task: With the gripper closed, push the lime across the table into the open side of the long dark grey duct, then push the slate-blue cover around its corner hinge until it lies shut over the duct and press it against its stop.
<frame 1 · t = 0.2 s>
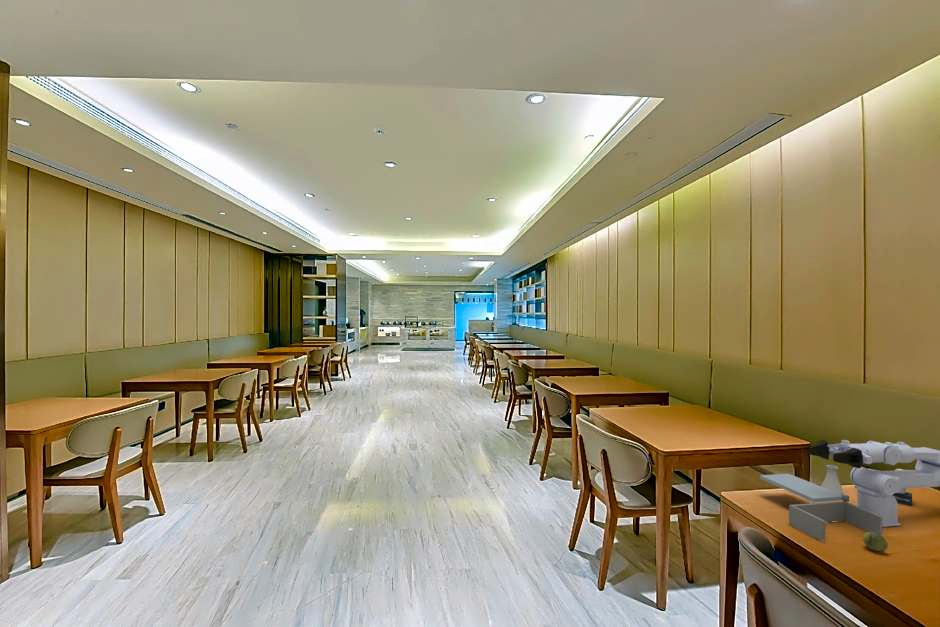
hand: (821, 454, 135), 22 cm above the table, tool horizontal, fingers open, 7 cm apart
watch: (900, 502, 154), on the table
duct cover: (802, 487, 148), point 7 cm above the table, hinge at 90.0°
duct: (835, 531, 132), on the table
flask: (831, 495, 160), on the table
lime: (875, 551, 121), on the table
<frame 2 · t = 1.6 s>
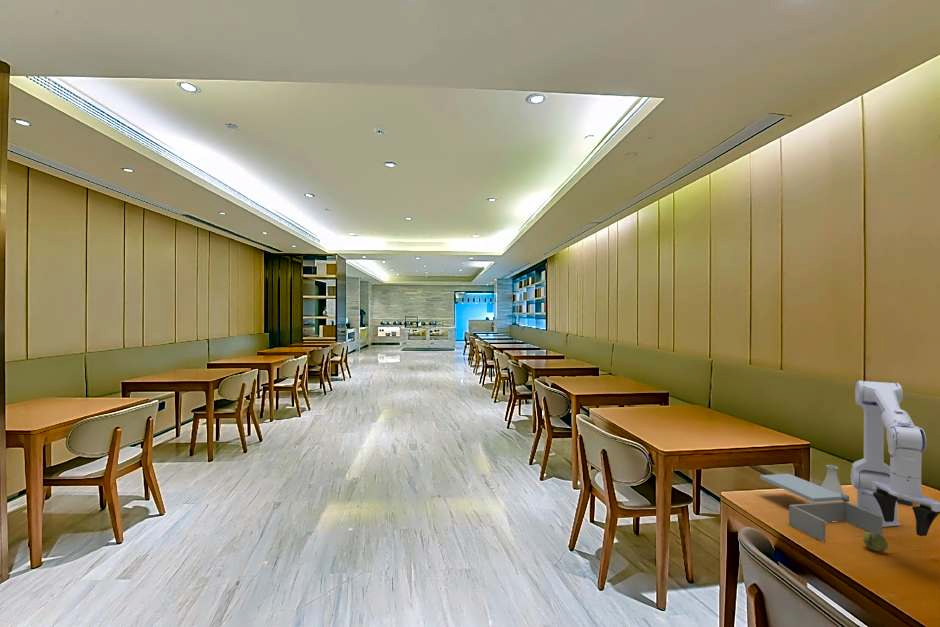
hand: (904, 528, 114), 9 cm above the table, tool pointing down, fingers open, 7 cm apart
nothing on the table moved.
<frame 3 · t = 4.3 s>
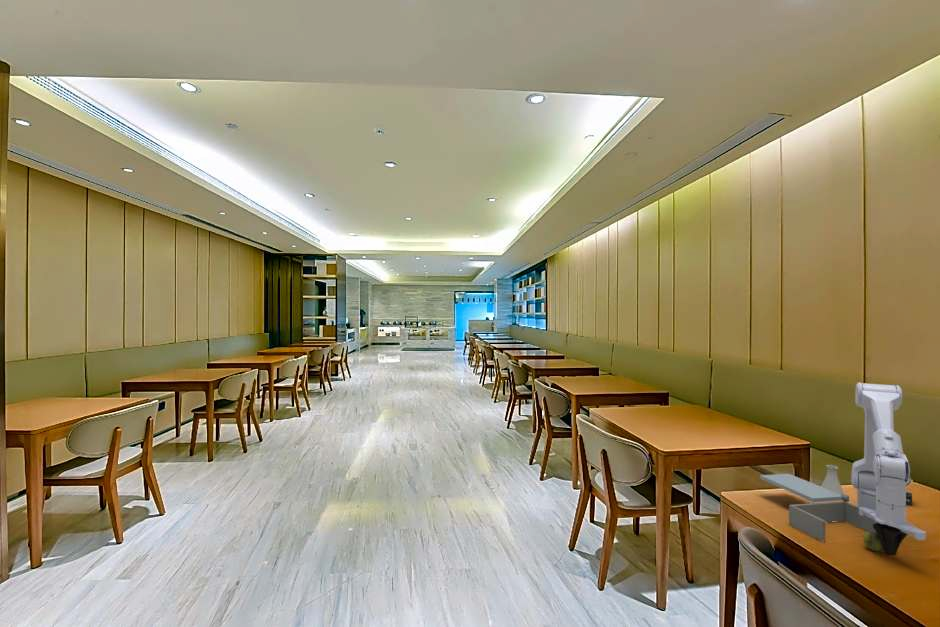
hand: (890, 554, 117), 1 cm above the table, tool pointing down, fingers closed
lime: (875, 551, 121), on the table, touching gripper
everything else where it was.
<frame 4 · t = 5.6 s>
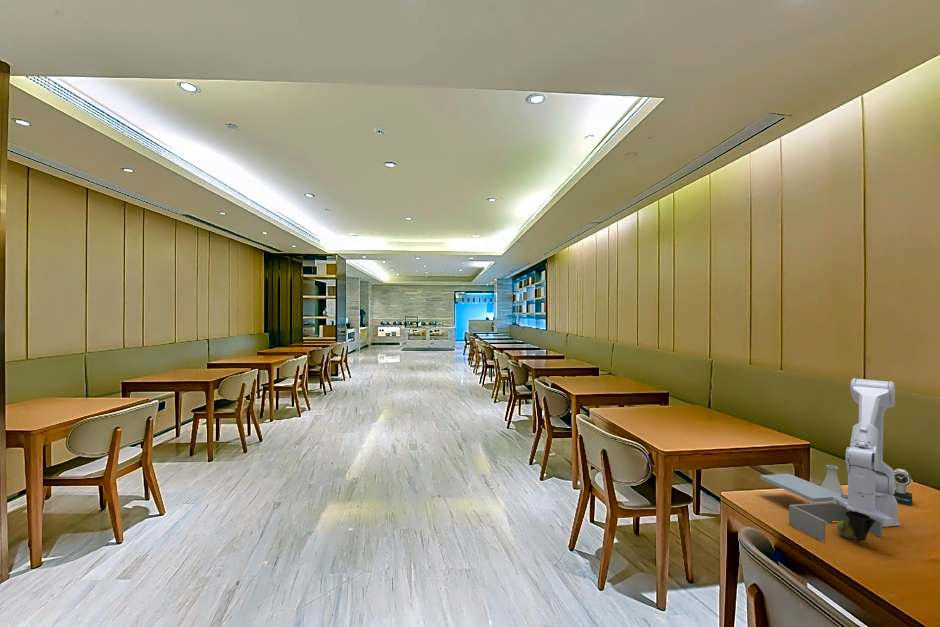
hand: (860, 539, 125), 1 cm above the table, tool pointing down, fingers closed
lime: (848, 538, 128), on the table, touching gripper
everything else where it was.
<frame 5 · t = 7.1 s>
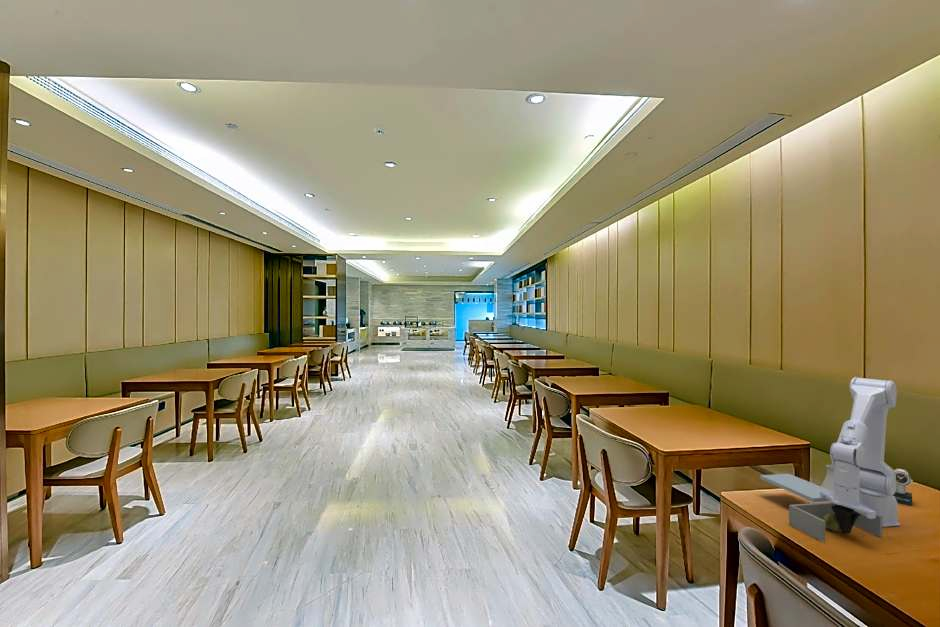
hand: (845, 532, 129), 1 cm above the table, tool pointing down, fingers closed
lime: (833, 531, 132), on the table, touching gripper
everything else where it was.
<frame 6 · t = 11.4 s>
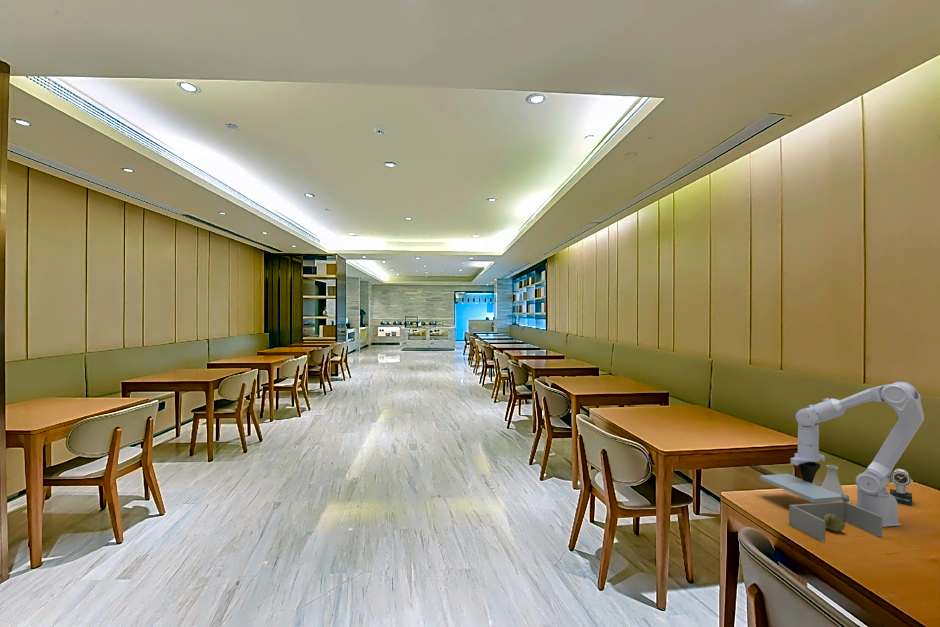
hand: (807, 483, 152), 6 cm above the table, tool pointing down, fingers closed
duct cover: (802, 487, 147), point 7 cm above the table, hinge at 88.6°, touching gripper
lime: (833, 531, 132), on the table
everything else where it was.
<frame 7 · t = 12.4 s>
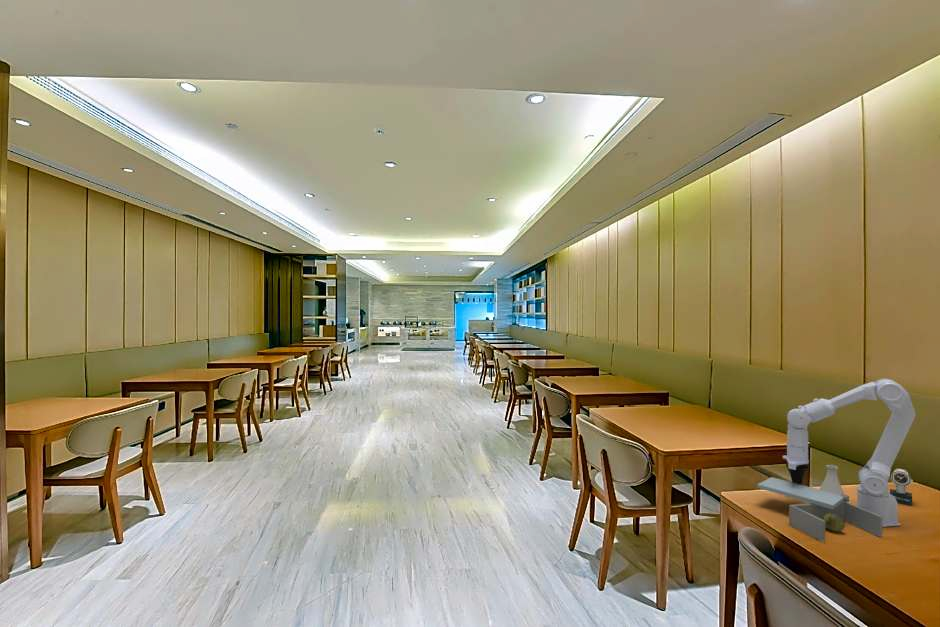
hand: (797, 486, 150), 6 cm above the table, tool pointing down, fingers closed
duct cover: (802, 491, 144), point 7 cm above the table, hinge at 63.3°, touching gripper
everything else where it was.
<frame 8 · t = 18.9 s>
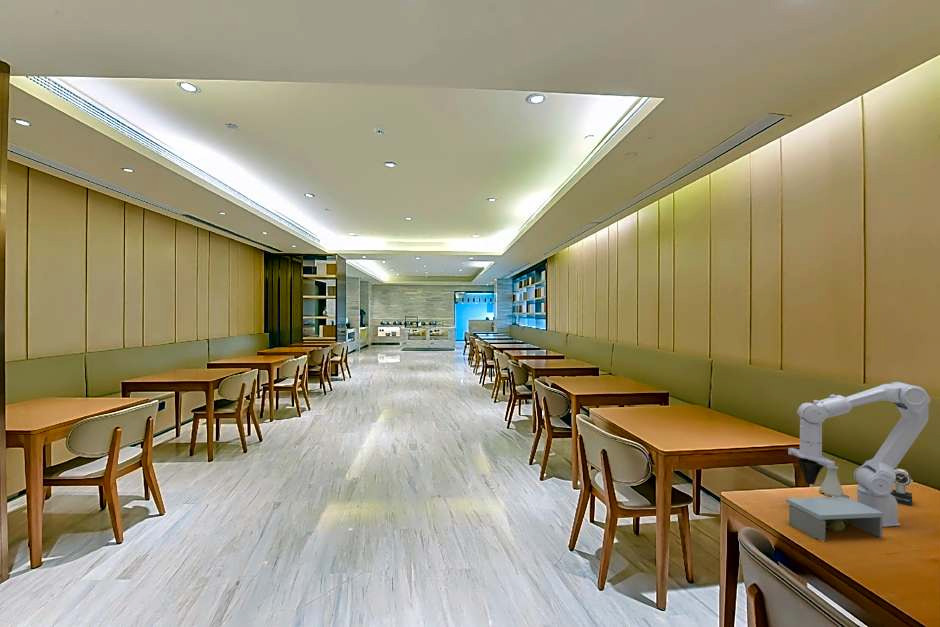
hand: (810, 483, 144), 9 cm above the table, tool pointing down, fingers closed
duct cover: (833, 506, 133), point 7 cm above the table, hinge at 3.2°
everything else where it was.
at the end: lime inside the target area on the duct (0.4 cm from its centre), point 0.0 cm above the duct's base; duct cover at +3° (first picture: +90°) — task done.
